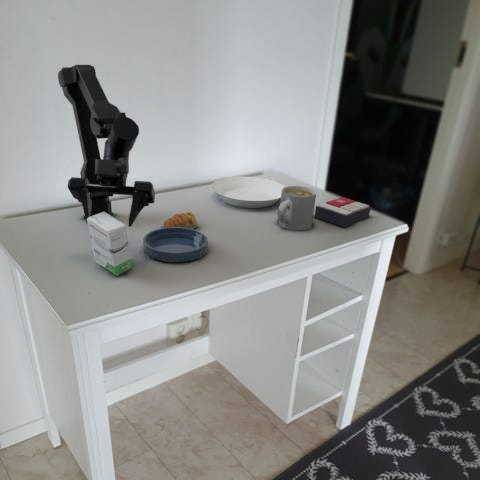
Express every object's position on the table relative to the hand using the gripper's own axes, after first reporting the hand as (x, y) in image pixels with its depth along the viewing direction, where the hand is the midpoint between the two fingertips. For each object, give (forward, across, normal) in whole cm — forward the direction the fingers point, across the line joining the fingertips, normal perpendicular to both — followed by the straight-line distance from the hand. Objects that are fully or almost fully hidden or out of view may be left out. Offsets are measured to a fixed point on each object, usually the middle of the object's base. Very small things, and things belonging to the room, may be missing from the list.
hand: (108, 224), depth 110 cm
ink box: (+7, 0, +8) cm, 10 cm away
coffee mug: (-16, +46, +30) cm, 57 cm away
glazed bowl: (-1, +14, +16) cm, 21 cm away
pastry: (-12, +14, +26) cm, 32 cm away
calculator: (-23, +62, +37) cm, 76 cm away
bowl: (-32, +34, +45) cm, 65 cm away
